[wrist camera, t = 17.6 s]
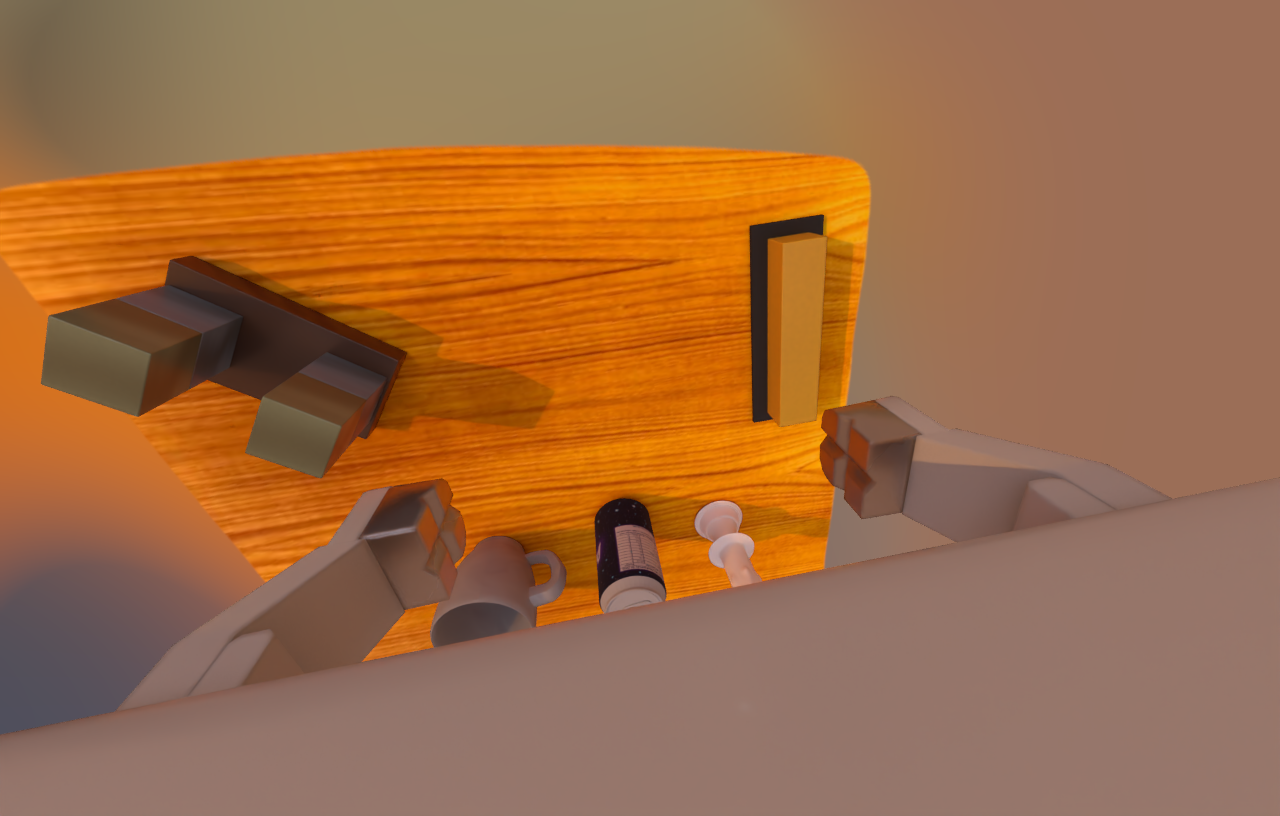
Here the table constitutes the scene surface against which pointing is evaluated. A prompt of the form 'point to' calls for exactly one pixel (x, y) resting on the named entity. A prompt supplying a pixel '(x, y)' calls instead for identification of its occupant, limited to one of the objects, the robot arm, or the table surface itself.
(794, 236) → the bar
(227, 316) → the tower
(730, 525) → the candle
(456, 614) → the mug
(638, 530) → the beverage can
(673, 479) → the table surface
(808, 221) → the mat
